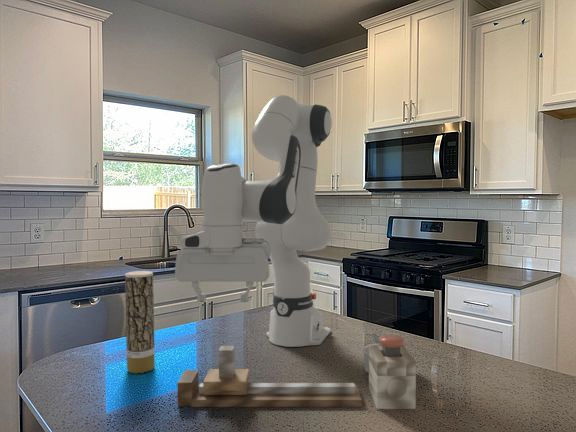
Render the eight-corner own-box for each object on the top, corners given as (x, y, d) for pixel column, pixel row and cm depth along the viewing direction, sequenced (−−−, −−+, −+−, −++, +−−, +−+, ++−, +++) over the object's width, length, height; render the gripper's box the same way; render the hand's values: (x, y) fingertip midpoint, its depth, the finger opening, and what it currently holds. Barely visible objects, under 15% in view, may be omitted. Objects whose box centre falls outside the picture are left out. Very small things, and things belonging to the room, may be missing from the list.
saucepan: (393, 352, 127) (394, 333, 127) (415, 381, 107) (415, 358, 107) (353, 353, 127) (353, 333, 126) (367, 382, 107) (367, 359, 106)
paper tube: (146, 375, 111) (144, 275, 110) (121, 373, 112) (119, 275, 111) (159, 365, 118) (157, 271, 117) (136, 363, 119) (134, 270, 118)
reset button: (381, 361, 95) (381, 342, 95) (377, 352, 100) (377, 334, 100) (406, 361, 95) (406, 342, 95) (400, 352, 100) (400, 334, 100)
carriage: (203, 397, 95) (202, 353, 94) (209, 383, 102) (209, 342, 101) (245, 397, 95) (245, 353, 94) (249, 383, 102) (248, 342, 101)
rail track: (175, 409, 93) (174, 362, 92) (187, 388, 103) (186, 346, 103) (416, 409, 92) (416, 362, 92) (403, 388, 103) (403, 345, 102)
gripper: (271, 237, 100) (271, 298, 100) (180, 237, 100) (181, 298, 101) (269, 239, 93) (269, 305, 94) (172, 239, 94) (173, 304, 94)
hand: (223, 301), depth 97 cm, fingers open, 8 cm apart
